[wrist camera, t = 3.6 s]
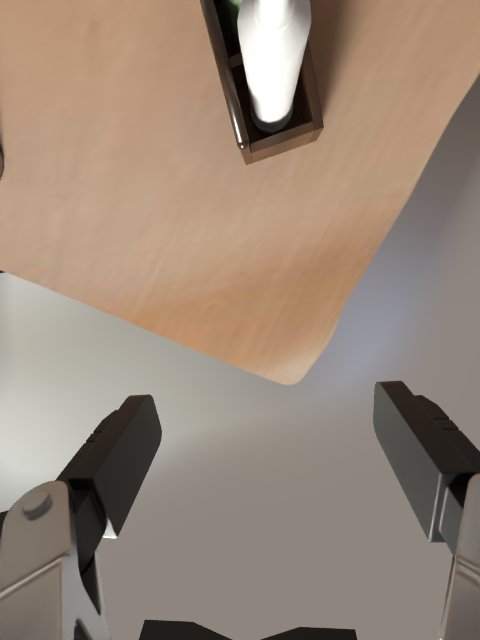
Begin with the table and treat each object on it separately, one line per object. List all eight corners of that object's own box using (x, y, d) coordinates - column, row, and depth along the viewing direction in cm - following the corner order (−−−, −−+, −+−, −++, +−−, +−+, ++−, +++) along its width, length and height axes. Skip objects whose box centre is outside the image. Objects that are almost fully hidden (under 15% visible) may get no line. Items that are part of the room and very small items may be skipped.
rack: (246, 170, 37) (238, 150, 27) (201, -6, 32) (170, -111, 22) (317, 145, 36) (336, 114, 26) (282, -45, 30) (288, -177, 20)
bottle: (300, 100, 34) (368, -175, 11) (279, 143, 36) (300, -11, 13) (262, 79, 34) (250, -249, 11) (244, 124, 36) (196, -72, 12)
